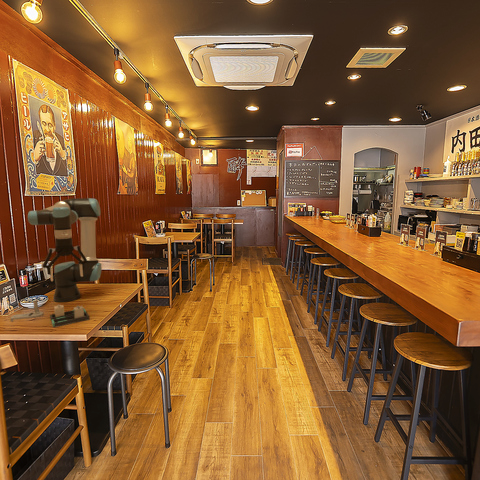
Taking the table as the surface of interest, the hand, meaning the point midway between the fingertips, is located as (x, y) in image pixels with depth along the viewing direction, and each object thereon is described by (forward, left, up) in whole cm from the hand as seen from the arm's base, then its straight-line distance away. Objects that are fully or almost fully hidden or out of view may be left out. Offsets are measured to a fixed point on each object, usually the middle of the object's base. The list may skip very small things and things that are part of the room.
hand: (67, 278), depth 158 cm
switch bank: (0, 0, -23) cm, 23 cm away
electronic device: (-17, -18, -23) cm, 34 cm away
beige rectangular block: (-4, -4, -22) cm, 22 cm away
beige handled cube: (+4, +4, -22) cm, 22 cm away
